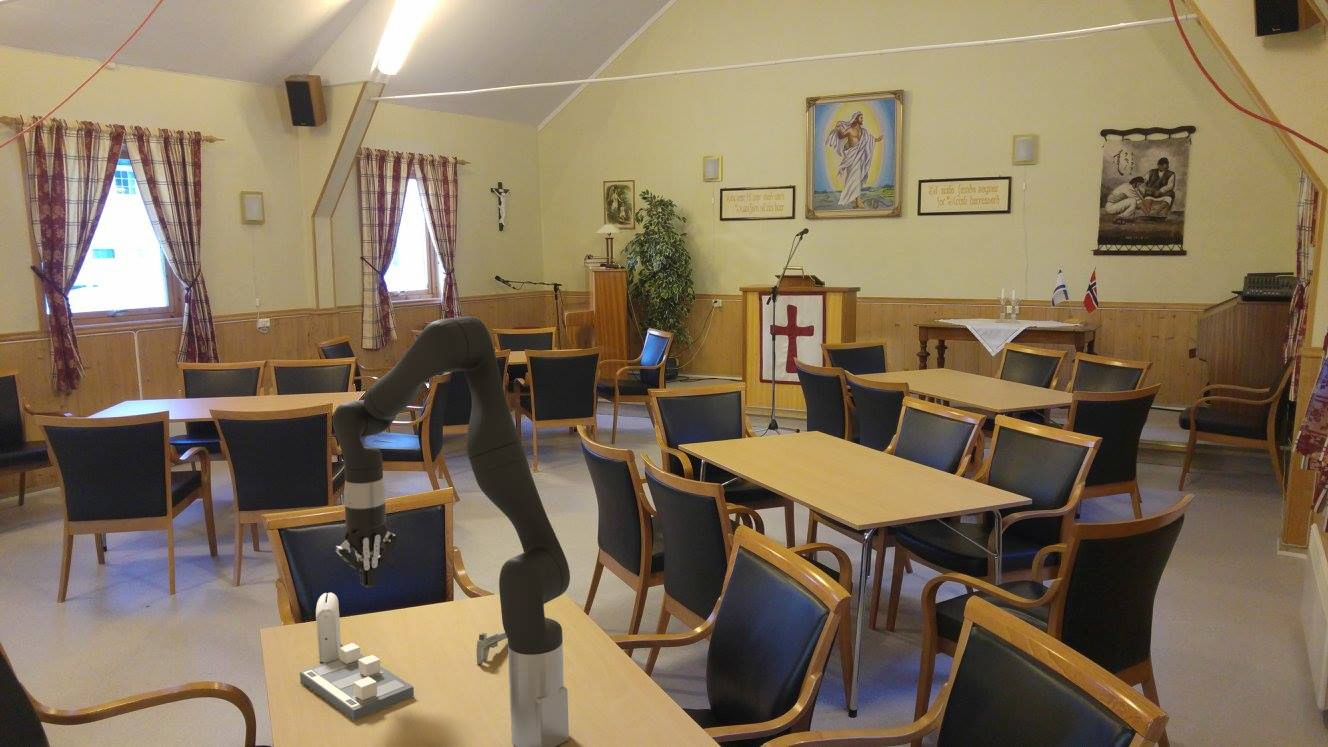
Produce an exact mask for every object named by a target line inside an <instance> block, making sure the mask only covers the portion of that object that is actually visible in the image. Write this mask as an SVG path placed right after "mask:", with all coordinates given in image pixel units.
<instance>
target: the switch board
mask: <svg viewBox="0 0 1328 747" xmlns="http://www.w3.org/2000/svg"><path fill="white" fill-rule="evenodd" d="M360 655H361V659H362V658H364V657H366V656H365V655H363V654H362V653H360ZM380 667H381V672H378V673H375V674H373V675H370V676H367V677H370V678H372V679H373V680H375V681H376V682H377V695H375V696H372V697H370V698H367V699H365V700H361V699H360V698H358V697H357V696H355V695H354V682H355V681H358V680H361V679H363V678H366V676H364V675H363V674H361V673H360V672H359V666H358V660H356V661H354V662H351V663H348V664H346V663H344V662H343V661H341V660H340V658H338V659H335V660H332V661H329V662H326V663H323V662H322V663H320V664H317V665H316V666H312V667H310V668H306V669H304V670H301V671H299V677H300V678H299V679H300V682H301V683H302V684H303V683H304V686H306V687H308V688H309V689H310V690H312V691H313V692H315V694H317V695H318V696H320V697H321V698H322V699H324V700H326V701H327V702H328V703H330V704H331V705H333V707H335V708H336V709H338V710H339V711H341V712H342V713H343V714H345V715H346V716H347V717H349V718H350V719H351V720H353V721H357V720H359V719H363V718H365V717H367V716H370V715H372V714H374V713H377V712H379V711H381V710H385V709H386V708H389V707H391V706H394V705H396V704H399V703H402V702H404V701H407V700H409V699H411V698H414V697H415V692H414V686H413V685H412V684H410V683H409V682H407V681H405V680H404V679H402V678H400V677H399V676H398V675H396V674H394V673H392V672H391V671H389V670H388V669H386V668H384V667H383V666H381V665H380Z"/></svg>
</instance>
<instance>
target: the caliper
mask: <svg viewBox="0 0 1328 747" xmlns="http://www.w3.org/2000/svg"><path fill="white" fill-rule="evenodd" d="M506 639H508V638H507V635H506V633H505V630H504V629H503V630H502V631H500V632H493V633H490V634H487V633H485V632H481V633H479V636H478V639H477V643H476V664H478V665H484V664H483V662H484V661H486V660H487V661H488V658H489V653H490V649H492V648H496V647H498V646H499V642H502V641H503V640H506ZM487 661H486V662H487Z"/></svg>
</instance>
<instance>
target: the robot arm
mask: <svg viewBox="0 0 1328 747" xmlns="http://www.w3.org/2000/svg"><path fill="white" fill-rule="evenodd" d="M494 347H495V346H494V344H493V341H492V338H491V335H490V332H489V330H488V328H487V327H486V325H485V324H484V322H483V321H482V320H481V319H479V318H478V317H475V316H472V315H471V316H468V315H467V316H457V317H449V318H440V319H437V320H434V321H432V322H430V323H429V324H427V325H426V327H425V328H424V329H423V330H422V331H421V332H420V333H419V334H418V336H417V337H416V338H415V339H414V342H413V343H412V344H411V345H410V346H409V348H408V349H407V350H406V352H405V353H404V354H403V355H402V357H401V358H400V359H399V361H398V362H397V363H396V364H395V365H394V366H393V367H392V368H391V369H390V370H389V371H388V372H387V373H386V374H385V375H383V376H382V377H381V378H379V379H378V380H377V381H376V382H375V383H374V384H373V385H371V386H370V387H369V388H367V390H366V392H365V394H364V396H363V399H360V400H356V401H355V400H354V401H348V402H344V403H340V404H339V405H338V406H337V407H336V408H335V410H334V413H333V415H332V427H333V431H334V434H335V436H336V440H337V442H338V444H339V448H340V451H341V455H342V457H343V462H344V463H343V464H344V465H343V466H344V490H343V494H344V496H343V497H344V498H343V501H344V514H345V515H344V517H345V528H346V532H345V535H344V541H343V542H342V543H341V544H340V545H335V547H334V549H333V550H334V552H335V553H336V554H337V555H338V556H339V557H340V558H341V559H342V560H343V561H344V562H346V564H347V565H349V566H350V567H351V568H353V569H355V570H358V571H359V582H360V584H361V585H362V586H363V587H365V588H366V589H368V588H371V587H374V586H375V584H376V582H377V580H378V578H377V577H378V576H377V567H378V565H379V564H382V563H383V564H384V563H385V562H386V561H387V558H388V557H389V554H390V553H391V551H392V549H393V548H394V546H395V545H396V543H397V541H398V540H399V535H397V534H395V533H393V532H390V531H388V527H387V524H386V523H387V522H386V521H387V513H386V512H387V511H386V489H385V483H384V468H383V467H384V466H383V465H384V464H383V455H382V452H381V450H380V449H379V448H378V447H373V446H364V445H363V443H362V442H363V441H362V438H364V437H368V436H375V435H378V434H381V433H383V432H384V431H386V430H388V429H389V428H390V427H391V425H392V423H393V422H394V420H395V419H396V417H397V415H398V414H400V413H401V412H402V411H403V410H405V409H406V408H408V407H409V406H410V405H411V404H412V403H413V402H414V401H415V400H416V399H417V397H418V396H419V395H420V392H421V389H422V384H423V383H424V382H426V381H427V380H429V379H431V378H433V377H435V376H439V375H440V374H445V373H455V372H456V373H457V372H461V371H463V372H464V374H465V377H466V380H467V383H468V388H469V390H470V395H471V411H470V416H469V422H468V427H467V435H466V442H465V443H466V453H467V456H468V460H469V463H470V466H471V469H472V472H473V475H474V477H475V481H476V483H477V485H478V487H479V488H480V490H481V491H482V493H483V494H484V495H485V496H486V497H487V499H489V501H491V502H492V504H493V505H494V506H496V507H497V508H498V509H499V511H501V512H502V513H503V514H504V515H505V516H506V517H507V518H508V520H509V521H510V523H511V524H512V525H513V527H514V529H515V531H516V534H517V536H518V539H519V541H520V544H521V547H522V551H523V552H522V553H520V554H517V555H516V556H513V557H511V558H509V559H508V560H506V561H505V562H504V564H502V567H501V569H500V572H499V577H498V578H499V579H498V585H499V586H498V590H499V601H500V610H501V611H500V613H501V624H502V627H503V631H504V630H505V633H506V635H507V638H506V639H507V650H508V651H507V653H508V654H507V655H508V656H507V657H508V677H509V678H508V679H509V705H510V708H509V709H510V710H509V711H510V728H511V729H510V731H511V742H512V744H513V745H514V746H515V747H557V746H559V745H561V744H563V743H565V742H567V741H569V740H570V732H569V730H570V729H569V727H570V726H569V697H568V695H569V694H568V688H567V687H566V686H564V685H565V682H564V680H565V676H564V645H563V644H564V642H563V641H564V640H563V628H562V626H561V624H560V623H559V622H558V621H557V620H555V619H553V618H548V617H546V616H545V605H546V604H547V603H548V602H549V603H550V602H551V601H553V600H555V599H557V598H559V597H560V596H562V595H563V594H565V592H567V590H568V588H569V585H570V582H571V571H570V567H569V563H568V561H567V560H568V559H567V558H566V555H565V553H564V550H563V547H562V546H561V544H560V541H559V539H558V536H557V535H556V532H555V530H554V528H553V526H552V523H551V522H550V520H549V517H548V515H547V513H546V510H545V507H544V505H543V501H542V499H541V497H540V496H541V495H540V494H539V492H538V489H537V486H536V483H535V481H534V478H533V476H532V471H531V468H530V465H529V461H528V458H527V456H526V453H525V449H524V447H523V444H522V441H521V438H520V436H519V434H518V431H517V428H516V426H515V422H514V419H513V415H512V413H511V409H510V406H509V403H508V400H507V397H506V393H505V390H504V385H503V382H502V381H503V380H502V378H501V373H500V368H499V365H498V360H497V357H496V352H495V348H494ZM351 549H352V550H353V551H354V554H355V557H354V556H353V555H352V554H351Z"/></svg>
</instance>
